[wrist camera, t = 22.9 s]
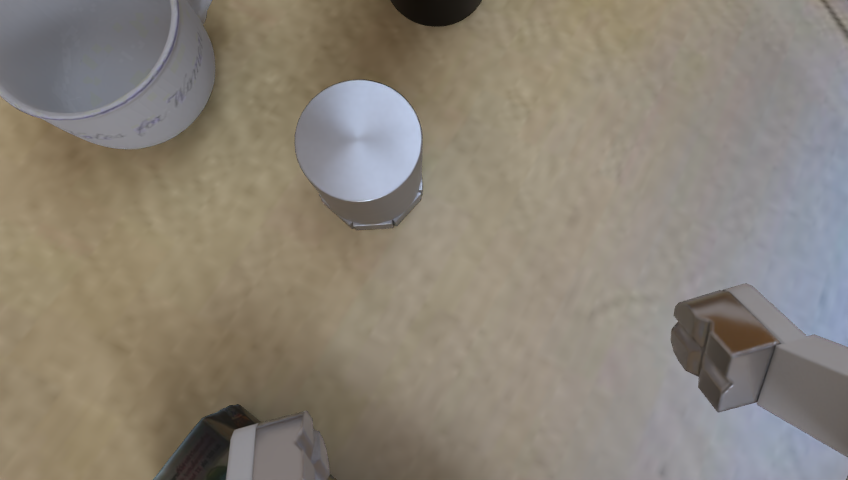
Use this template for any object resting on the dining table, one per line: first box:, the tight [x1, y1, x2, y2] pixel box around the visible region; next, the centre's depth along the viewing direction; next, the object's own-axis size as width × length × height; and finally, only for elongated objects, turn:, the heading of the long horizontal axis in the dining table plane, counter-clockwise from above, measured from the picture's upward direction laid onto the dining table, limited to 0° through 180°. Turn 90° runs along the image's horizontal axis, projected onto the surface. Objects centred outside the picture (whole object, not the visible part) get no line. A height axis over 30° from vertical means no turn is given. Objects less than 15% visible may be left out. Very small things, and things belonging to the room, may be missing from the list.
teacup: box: [0, 0, 215, 149], centre depth 31 cm, size 14×11×8 cm
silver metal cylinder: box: [295, 80, 423, 230], centre depth 30 cm, size 6×6×8 cm
